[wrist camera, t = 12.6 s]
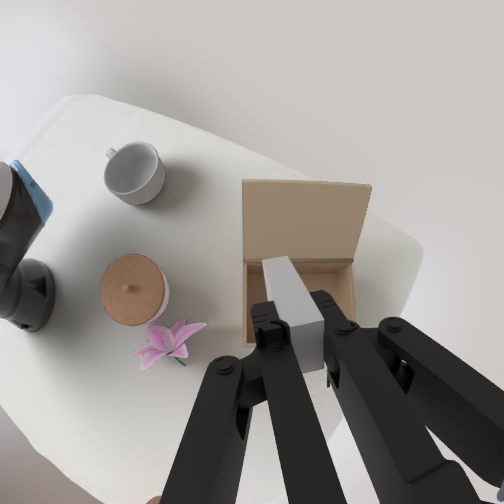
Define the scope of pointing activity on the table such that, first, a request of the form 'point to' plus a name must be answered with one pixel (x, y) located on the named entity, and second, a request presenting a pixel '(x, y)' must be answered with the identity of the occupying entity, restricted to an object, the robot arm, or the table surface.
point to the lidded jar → (134, 290)
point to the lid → (302, 220)
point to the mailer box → (314, 278)
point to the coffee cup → (154, 500)
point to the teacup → (134, 173)
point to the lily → (166, 342)
